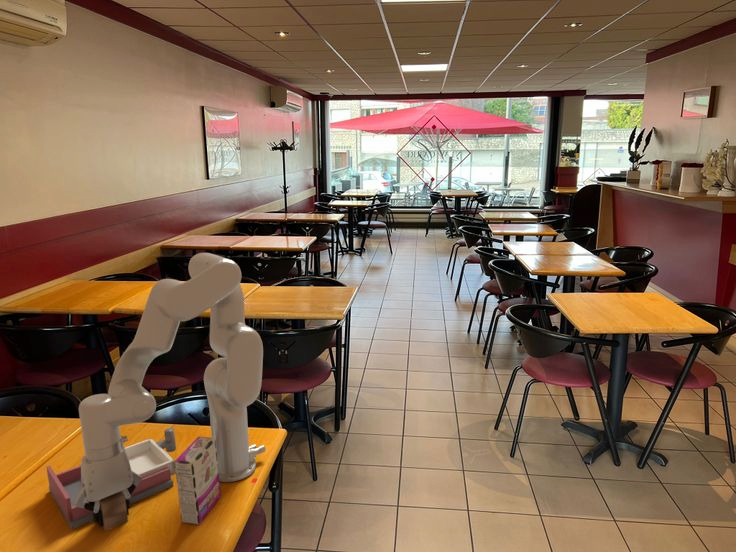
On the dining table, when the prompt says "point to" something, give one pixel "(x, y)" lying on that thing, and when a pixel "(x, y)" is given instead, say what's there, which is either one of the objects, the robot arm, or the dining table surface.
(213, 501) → the candy bar box
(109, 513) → the walnut block
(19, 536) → the dining table surface
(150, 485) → the bay
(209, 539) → the dining table surface
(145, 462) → the white tray
